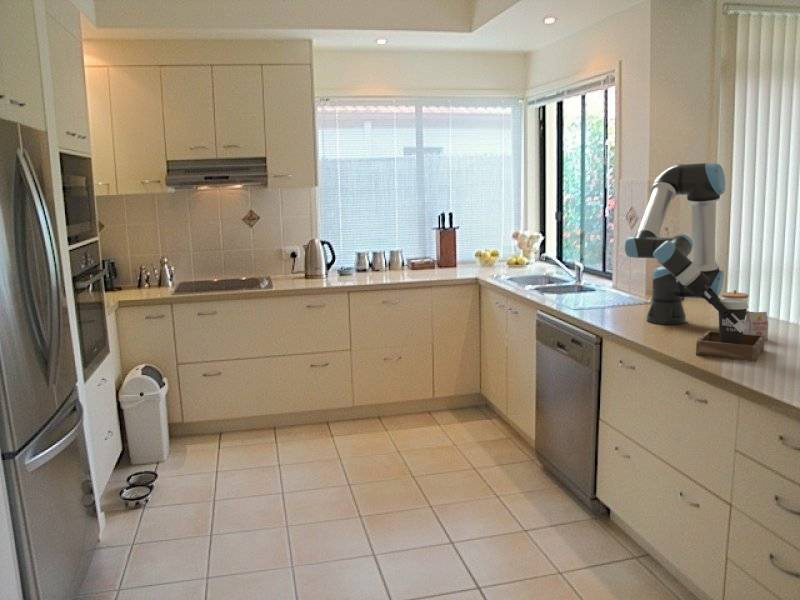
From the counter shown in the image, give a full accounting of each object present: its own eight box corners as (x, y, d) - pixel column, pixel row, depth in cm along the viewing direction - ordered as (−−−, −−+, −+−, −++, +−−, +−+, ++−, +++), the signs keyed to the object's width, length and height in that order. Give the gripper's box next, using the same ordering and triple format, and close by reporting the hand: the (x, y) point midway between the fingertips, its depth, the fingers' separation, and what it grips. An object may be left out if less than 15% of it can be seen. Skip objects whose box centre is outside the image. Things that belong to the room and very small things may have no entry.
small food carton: (743, 338, 254) (745, 311, 253) (762, 337, 254) (763, 310, 253) (748, 340, 251) (750, 313, 249) (767, 339, 251) (769, 312, 249)
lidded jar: (721, 313, 301) (722, 291, 300) (719, 308, 311) (720, 288, 310) (748, 314, 297) (750, 292, 296) (746, 309, 307) (747, 288, 306)
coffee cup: (710, 345, 233) (712, 301, 231) (720, 339, 240) (722, 297, 237) (740, 349, 227) (743, 304, 224) (749, 343, 234) (752, 300, 231)
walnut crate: (707, 344, 246) (708, 330, 245) (763, 350, 236) (764, 335, 235) (695, 355, 232) (696, 340, 231) (755, 361, 221) (756, 346, 221)
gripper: (682, 281, 246) (729, 327, 243) (685, 291, 225) (736, 341, 222) (699, 267, 243) (746, 313, 240) (703, 275, 222) (755, 326, 220)
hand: (741, 326), depth 231 cm, fingers closed on coffee cup, 9 cm apart
